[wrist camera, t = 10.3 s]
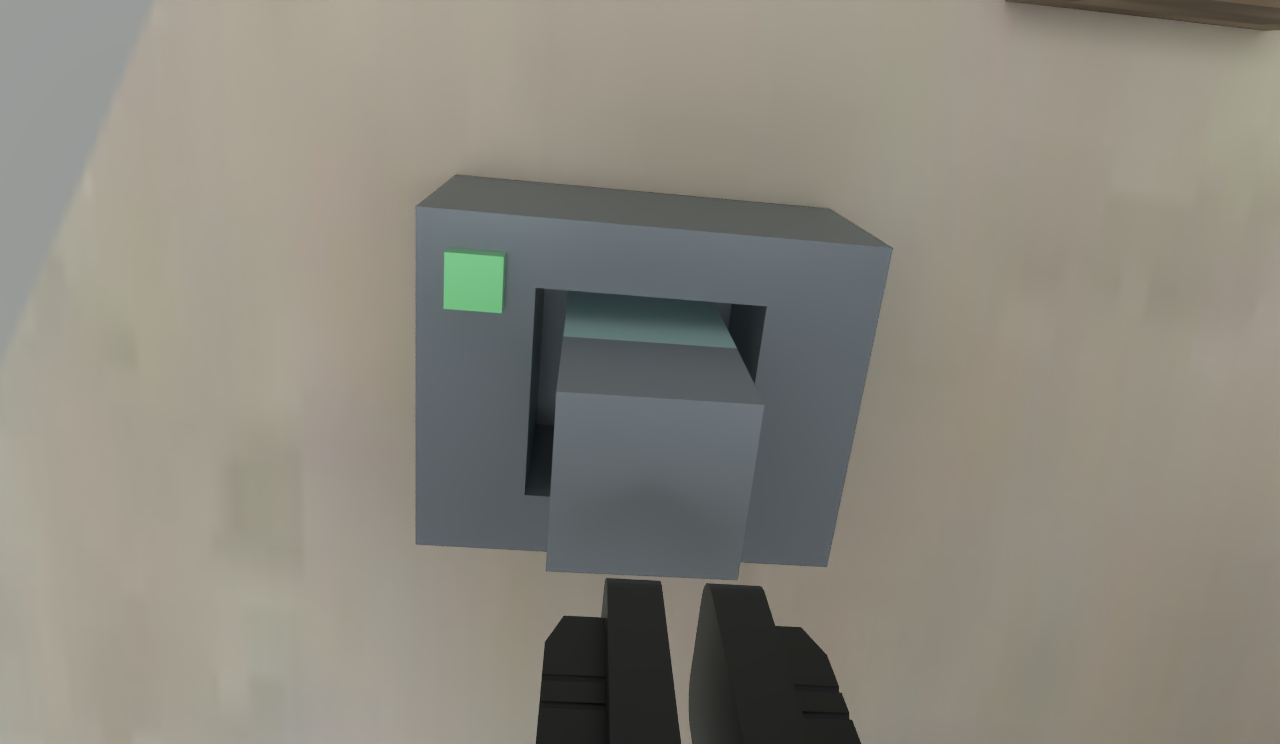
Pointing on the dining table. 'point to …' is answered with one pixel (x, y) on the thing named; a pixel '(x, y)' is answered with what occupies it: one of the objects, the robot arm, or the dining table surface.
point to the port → (638, 266)
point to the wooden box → (1185, 10)
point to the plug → (650, 440)
